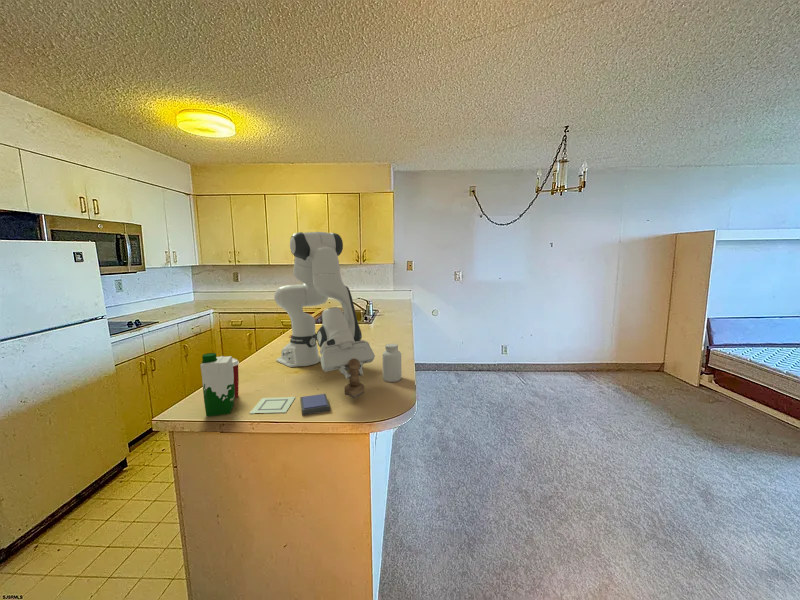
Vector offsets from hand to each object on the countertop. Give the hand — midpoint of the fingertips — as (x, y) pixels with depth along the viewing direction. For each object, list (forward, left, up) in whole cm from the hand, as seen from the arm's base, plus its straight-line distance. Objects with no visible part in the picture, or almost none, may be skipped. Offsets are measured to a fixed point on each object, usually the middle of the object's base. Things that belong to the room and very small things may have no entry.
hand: (354, 376), depth 118 cm
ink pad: (-10, -11, -9) cm, 17 cm away
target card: (-23, -18, -9) cm, 30 cm away
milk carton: (-35, -30, -10) cm, 47 cm away
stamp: (-1, 0, -7) cm, 7 cm away
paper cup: (-43, -22, -10) cm, 49 cm away
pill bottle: (-1, +25, -10) cm, 27 cm away
